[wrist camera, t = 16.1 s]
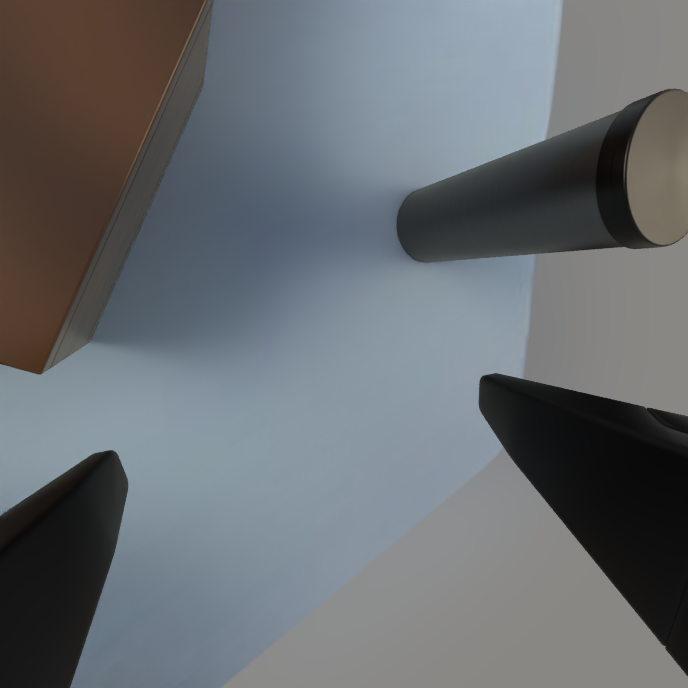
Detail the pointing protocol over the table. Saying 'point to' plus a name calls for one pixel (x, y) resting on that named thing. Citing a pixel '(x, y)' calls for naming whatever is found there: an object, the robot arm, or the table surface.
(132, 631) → the table surface
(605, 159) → the canister
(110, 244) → the drawer unit
